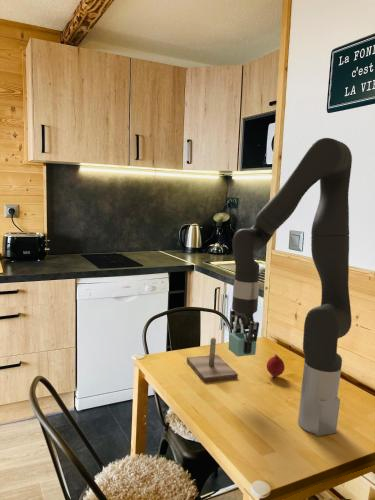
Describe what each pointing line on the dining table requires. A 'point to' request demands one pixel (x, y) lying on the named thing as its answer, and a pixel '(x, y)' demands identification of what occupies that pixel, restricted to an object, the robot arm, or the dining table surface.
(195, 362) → the stand
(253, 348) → the bead
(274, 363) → the onion
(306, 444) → the dining table surface
